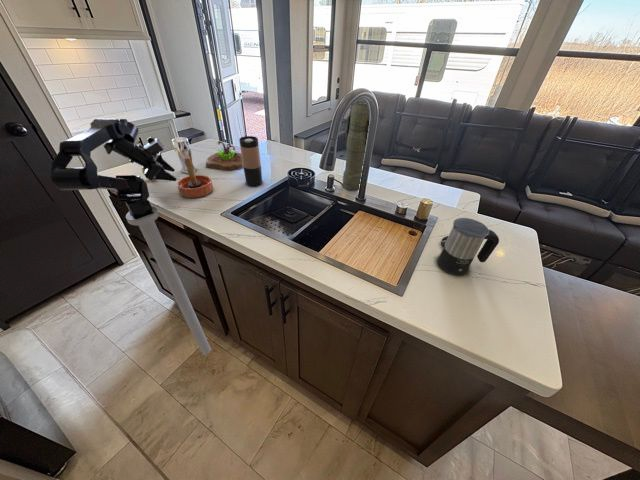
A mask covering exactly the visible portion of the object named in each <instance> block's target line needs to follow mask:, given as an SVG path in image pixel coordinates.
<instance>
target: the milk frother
mask: <svg viewBox="0 0 640 480" xmlns="http://www.w3.org/2000/svg"><path fill="white" fill-rule="evenodd" d="M452 224H453V226H452V227H451V230H450V232H449V234H448V235H446V236H443V238H441V240H440V244H441V245H440V246H442V250H441V252H440V254H439V256H438V257H437V258H436V263H437V265H438V266H439V268H440V269H442V271H444V272H445V273H448V274H450V275H453V276H463V275H466V274H467V273H468V272H469V268H470V266H471V265H472V263H473V261H474V259H475V257H476V258H477V259H478V262H480V263H485V262H487V260H488V259H489V257H490V256H491V254H492V253H493V252H494V250H495V249H496V248H497V246H498V245H499V243H500V238H499V236H498V234H497V233H496V232H495V231H494V230H492V229H489V228H488V227H487V226H486V225H485V224H484V223H482V222H480V221H479V220H476V219H473V218H468V217H459V218H456V219H455V220H453V223H452ZM484 240H486V241H485V242H484ZM483 242H484V244H483ZM482 244H483V245H482ZM481 245H482V247H481ZM480 247H481V249H480Z"/></svg>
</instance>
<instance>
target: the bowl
mask: <svg viewBox="0 0 640 480" xmlns="http://www.w3.org/2000/svg"><path fill="white" fill-rule="evenodd" d="M195 176H196V180H197V181H200V182H201V185H202V187H198V188H190V189H189V186H188V183H189V182H191V180H190V176H189V175H187V176H184V177H182V178H180V179H178V181H177V182H176V187H177V190H178V192H179V195H181V196H182V197H186V198H190V199H197V198H201V197H205V196H207V195H209V194H210V193H211V192H212V191H213V189H214V186H213V182H212V179H211V177H209V176H208V175H204V174H195Z"/></svg>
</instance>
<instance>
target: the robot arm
mask: <svg viewBox="0 0 640 480" xmlns="http://www.w3.org/2000/svg"><path fill="white" fill-rule="evenodd" d="M89 125H90V128H88V129H86V130H84V131H82V132H80V133H78V134H76V135H75V136H73V137H70V138H69V139H66V140H65V139H64V140H62V141H60V142H59V148H58V149H59V151H58V153H57V154H56V155H55V157H54V158H53V160H52V161H51V166H50V169H51V170H50V179H51V182H52V183H53V185H54V186H56V189H58V190H61V191H87V190H88V191H89V190H97V189H98V190H107V191H108V190H109V191H116V200H117V201H118V202H119V203H120V204H122V203H125V206H126V207H127V209H128V212H129V211H130V212H129V214H130V215H131V216H132V217H134V218H135V219H139V218H142V217H145V216H148V215H150V214H153V213H154V212H153V211H152V207H153V206H152V205H151V202H150V200H149V197H150V192H149V187H148V184H147V182H146V181H145V179H144V178H141V175H135V174H121V175H120V174H116V175H115V177H113V176H109V175H102V174H98V166H97V165H96V163H95V162H94V160H93V159H92V157H91V155H92V154H91V153H92V152H93V151H94V150H96V149H97V148H100V147H101V146H102V145H103V148H104V149H105V152H106V154H107V155H110V154H111V153H112V152H114V153H116V154H117V155H120V156H122V157H124V158H125V159H127V160H129V163H131V164H134V163H135V164H138V165H139V166H141V169H142V168H143V169H145V175H144V177H145V178H146V179H147V180H150V181H155V180H156V181H157V180H159V181H170V182H176V181H177V179H178V178H177V177H175V176H174V175H172V174H171V173H169V172H172V173H173V172H175V171H176V169H175V168H174V167H172V165H171V164H169V163H168V162H167V161H166V159H164V158H163V156H162V152H163V151H164V150H165V146H164V145H163V143H162V142H160V139H158V138H156V137H155V138H154V137H153V136H150V137H148V138H147V143H146V145H142V144H135V142H136V140H137V137H138V135H139V132H140V131H139V128H138V126H137V125H135V124H134V123H132V122H130V121H128V120H127V118H120V119H119V118H94V119H93V120H92V121H91V122H90V123H89ZM74 157H81V158H82V160H83V162H84V167H68V165H69V164H70V163H71V161H72V159H73V158H74ZM151 206H152V207H151Z"/></svg>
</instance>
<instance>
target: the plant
mask: <svg viewBox="0 0 640 480" xmlns="http://www.w3.org/2000/svg"><path fill="white" fill-rule="evenodd" d="M216 144H217V145H221V144H222V146H223V148H222V149H221V150H219V149H216V151H217V152H215V153H214V154H212V155H210V156H208V157H207V158H206V162H205V166H206V168H208V169H215V170H222V171H233V170H240V169H244V168H243V162H242V155H241V152H237V151H236V150H237V149H236V147H235V146H234V145H232V143H229V142H228V143H227V144H225V143H224V142H223V141H221V140H219V141H217V142H216ZM232 150H233V151H232Z"/></svg>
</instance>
